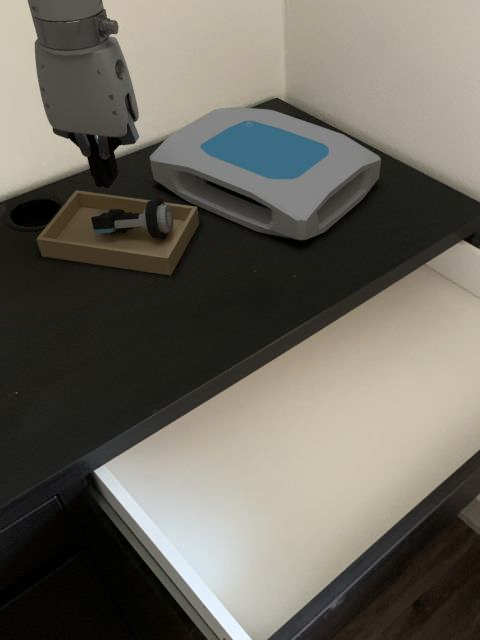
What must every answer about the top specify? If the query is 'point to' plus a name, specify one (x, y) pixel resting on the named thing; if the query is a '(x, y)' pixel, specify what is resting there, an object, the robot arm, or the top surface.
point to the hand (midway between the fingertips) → (106, 181)
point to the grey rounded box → (267, 170)
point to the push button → (136, 220)
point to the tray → (116, 235)
